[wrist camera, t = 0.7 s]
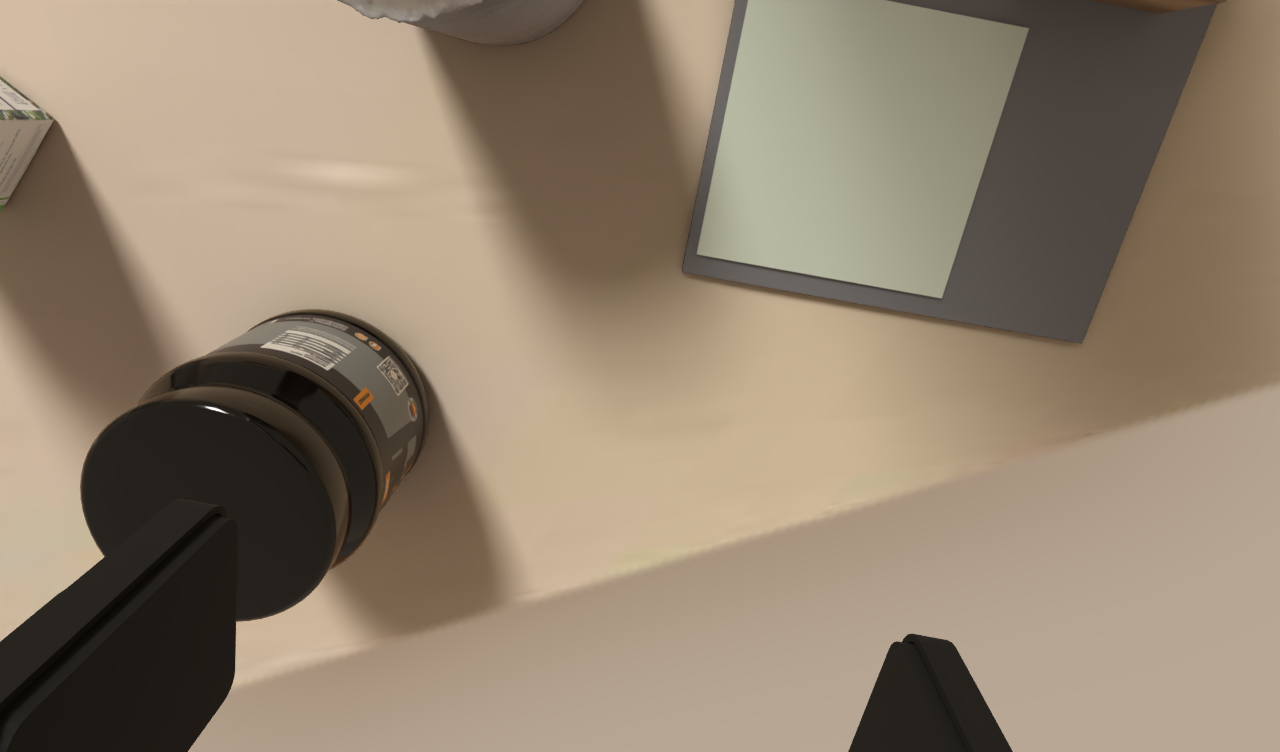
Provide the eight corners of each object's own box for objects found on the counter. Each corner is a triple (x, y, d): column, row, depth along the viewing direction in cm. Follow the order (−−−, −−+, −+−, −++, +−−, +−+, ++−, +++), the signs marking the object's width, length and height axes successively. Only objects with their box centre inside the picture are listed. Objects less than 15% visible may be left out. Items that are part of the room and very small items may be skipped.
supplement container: (288, 509, 41) (150, 661, 30) (198, 334, 38) (5, 431, 27) (465, 462, 40) (390, 602, 29) (388, 277, 37) (270, 353, 26)
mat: (817, -416, 28) (821, -427, 27) (1332, -304, 28) (1345, -313, 28) (681, 270, 36) (682, 272, 36) (1077, 341, 37) (1084, 344, 37)
